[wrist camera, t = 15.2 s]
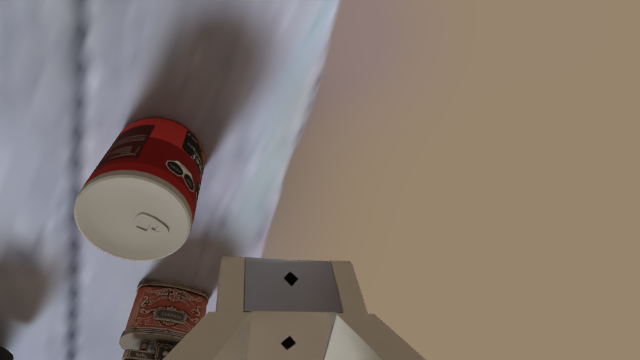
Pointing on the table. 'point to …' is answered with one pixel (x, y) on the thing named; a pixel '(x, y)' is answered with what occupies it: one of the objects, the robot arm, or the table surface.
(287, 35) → the table surface
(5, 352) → the milk frother
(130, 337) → the ornate red tin
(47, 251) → the table surface
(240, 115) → the table surface
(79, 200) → the canned food
